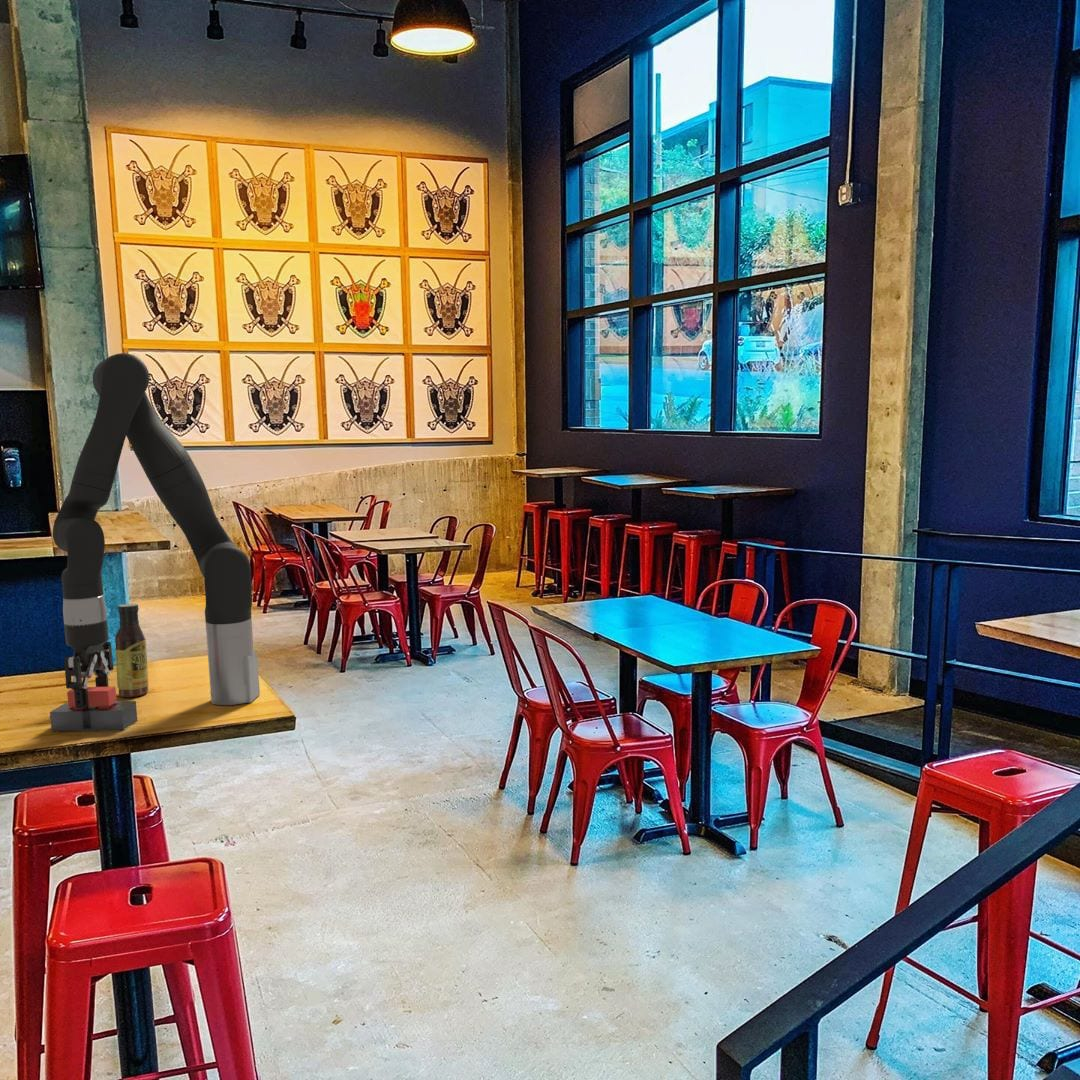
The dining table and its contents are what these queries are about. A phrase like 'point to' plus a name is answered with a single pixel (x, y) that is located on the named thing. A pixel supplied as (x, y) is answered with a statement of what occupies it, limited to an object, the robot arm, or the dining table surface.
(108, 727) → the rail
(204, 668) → the dining table surface
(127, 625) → the sauce bottle
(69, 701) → the red block
